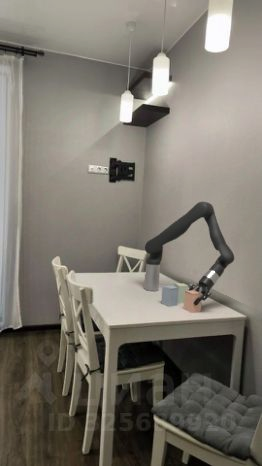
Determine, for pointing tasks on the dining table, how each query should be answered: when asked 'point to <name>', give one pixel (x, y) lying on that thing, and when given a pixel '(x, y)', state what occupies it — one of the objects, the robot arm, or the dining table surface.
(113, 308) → the dining table surface
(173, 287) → the blue grey bevelled block
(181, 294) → the pale green bevelled block
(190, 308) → the peach pink block
